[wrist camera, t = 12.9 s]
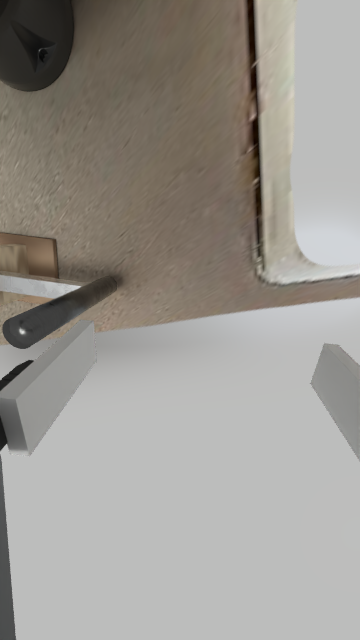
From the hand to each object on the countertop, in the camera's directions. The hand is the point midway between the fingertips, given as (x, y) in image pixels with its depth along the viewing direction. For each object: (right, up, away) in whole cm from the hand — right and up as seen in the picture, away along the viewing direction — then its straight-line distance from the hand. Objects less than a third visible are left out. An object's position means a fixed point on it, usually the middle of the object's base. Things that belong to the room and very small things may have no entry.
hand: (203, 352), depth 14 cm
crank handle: (-21, +9, +28) cm, 36 cm away
